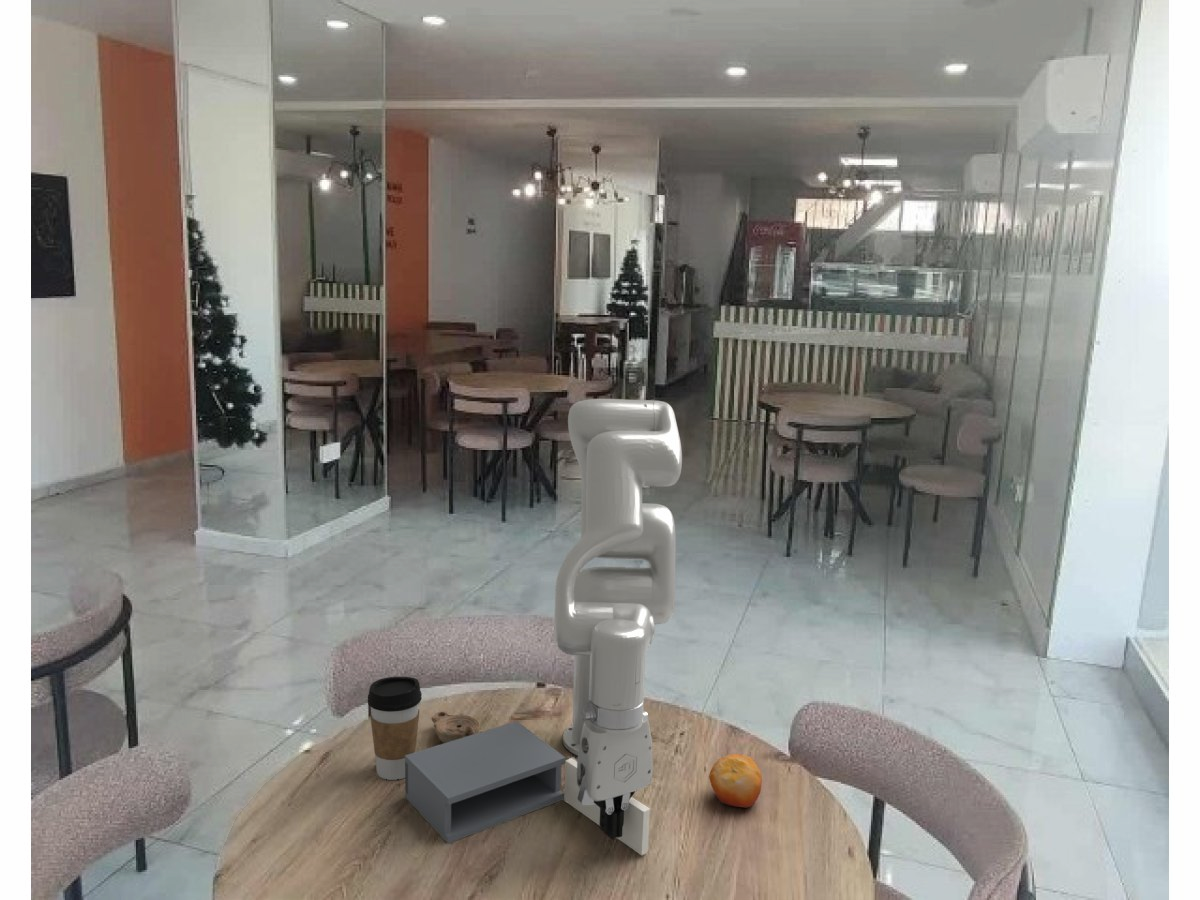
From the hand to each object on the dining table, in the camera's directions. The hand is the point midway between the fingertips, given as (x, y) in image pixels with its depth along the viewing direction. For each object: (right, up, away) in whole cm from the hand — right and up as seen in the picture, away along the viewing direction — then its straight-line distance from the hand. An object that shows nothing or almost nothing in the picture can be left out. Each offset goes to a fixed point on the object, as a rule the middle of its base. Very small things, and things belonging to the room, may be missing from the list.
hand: (611, 833), depth 126 cm
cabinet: (-19, 0, +13) cm, 23 cm away
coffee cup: (-35, +2, +20) cm, 40 cm away
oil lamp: (-26, +3, +30) cm, 40 cm away
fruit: (+19, -1, +15) cm, 24 cm away
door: (-1, -1, +7) cm, 7 cm away
